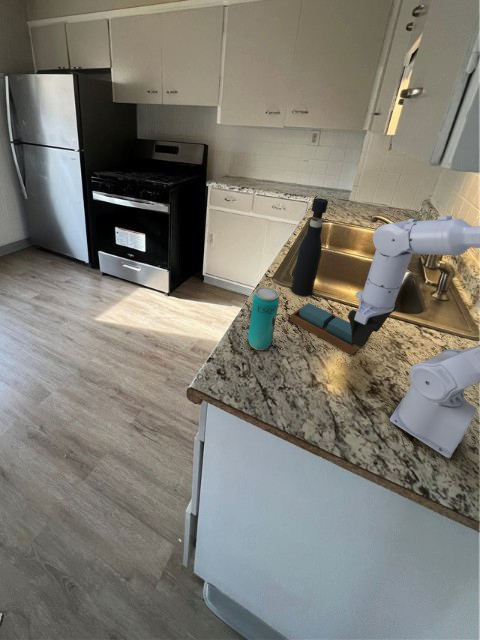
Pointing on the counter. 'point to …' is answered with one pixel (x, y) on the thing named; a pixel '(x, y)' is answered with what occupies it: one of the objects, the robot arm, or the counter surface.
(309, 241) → the black water bottle
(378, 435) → the counter surface
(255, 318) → the beverage can
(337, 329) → the loose pad
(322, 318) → the mounted pad
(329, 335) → the back plate
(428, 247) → the robot arm
